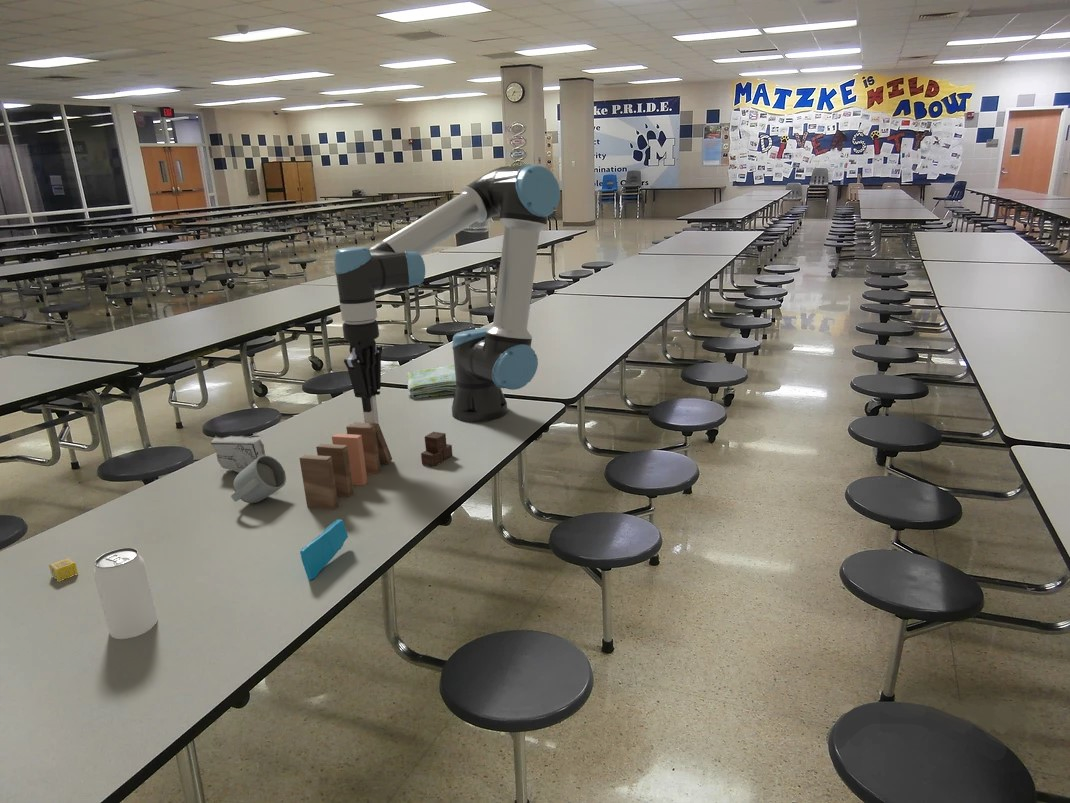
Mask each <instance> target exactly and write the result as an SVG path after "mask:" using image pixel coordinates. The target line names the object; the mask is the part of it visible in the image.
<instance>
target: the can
mask: <svg viewBox="0 0 1070 803" xmlns="http://www.w3.org/2000/svg"><path fill="white" fill-rule="evenodd" d="M94 566H95V567H94V570H93V576H94V581H95V585H96V588H97V592H98V596H99V600H100V603H101V604H100V605H101V608H102V611H103V615H104V618H105V622H106V626H107V629H108V633H109V636H110V637H111V638H114V639H116V640H117V639H118V640H125V639H132V638H135V637H139V636H141V635H144V634H145V633H147V632H148V631H150V630H151V629H153V628H154V627H155V626H156V625H155V624H157V623H158V620H159V618H158V613H157V608H156V605H155V600H154V596H153V593H152V588H151V585H150V581H149V575H148V572H147V567H146V564H145V560H144V558H143V557H142V556H141V555H140V554H139V550H138V549H136V548H134V547H121V548H117V549H113V550H110V551H107V552H105V553H103V554H102V555H100V556H99V557H97V558H96V559H95V561H94ZM154 625H155V626H154ZM153 626H154V627H153ZM152 627H153V628H152Z"/></svg>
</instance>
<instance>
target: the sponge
mask: <svg viewBox="0 0 1070 803" xmlns="http://www.w3.org/2000/svg"><path fill="white" fill-rule="evenodd" d="M345 526H346V525H345V523H344V520H343V519H340V518H338V519H336V520H334V521H333V522H332V523H330V524H329V525H328V526H326V528H325V529H324V530H323V531H322V532H321V533H320V534H319V535H318V536H317V537H315V538H314V539H313V540H311V541H310V542H308V544H306V545H305V546H304V547H302V548H301V549H300V551H299V552H300V558H301V563H302V565H303V567H304V571H305V573H306V574H305V575H306V578H307V579H308V581H312V580H315V578H316V577H317V576H318V575H319V573H320V572H321V571H322V570H323V569H324V567H325V566H326V565H328V564H329V562H330V561H331V560H333V558H334V557H335V556H336V554H337V553H338V552H339V551H340V550H341V549H342V548H343V546H344V545H345V544H344V543H345V542H346V540H347V539H348V538H349V536H348V535H349V534H348V531H347V530H346V527H345Z"/></svg>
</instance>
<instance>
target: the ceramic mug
mask: <svg viewBox="0 0 1070 803" xmlns="http://www.w3.org/2000/svg"><path fill="white" fill-rule="evenodd" d="M232 482H233V483H232V484H233V486H232V487H233V491H234V493H232V494H231V495H230V498H231V499H232V501H233V502H235V503H237V502H238V501H239V500H241V501H243V502H244V503H246V504H257V503H259V502H261V501H263V500H264V499H266V498H268V497H270V495H273V494H274V493H276V492H277V491H279V490H280V489H281V488H283V487H284V486H285V484H286V482H287V474H286V471H285V469H284V467H283V465H282V463H280V462H279V461H278V460H277V459H276V458H274V457H272V456H270V455H268V454H267V455H266V454H265V455H263V456H260V457H258V458H257V459H256V460H254V461H253V462H252V463H251V464H249V465H248V466H247V467H246V468H245V469H243V470H242V471H241V472H240V473H239V472H238V473H237V475H236V477H235V478H234V479H233V481H232Z"/></svg>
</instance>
